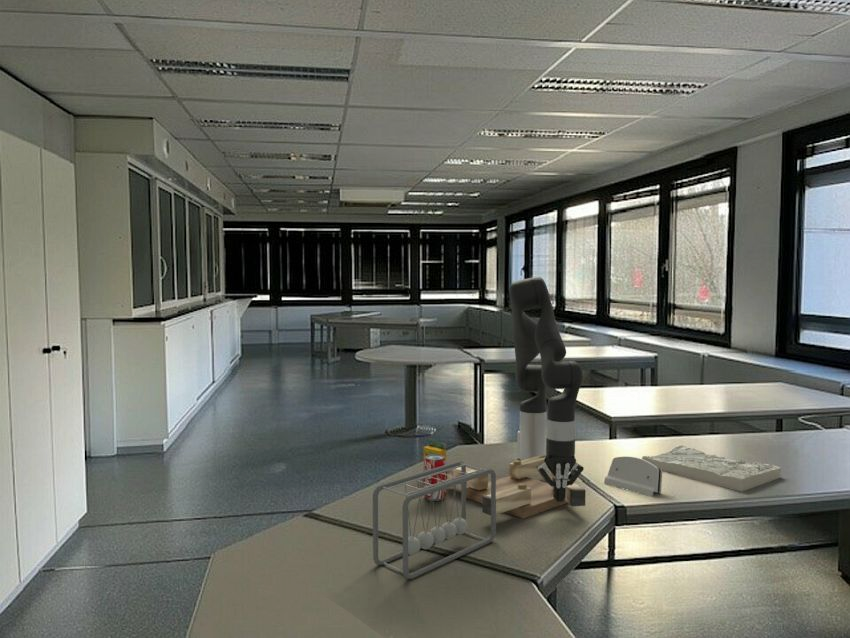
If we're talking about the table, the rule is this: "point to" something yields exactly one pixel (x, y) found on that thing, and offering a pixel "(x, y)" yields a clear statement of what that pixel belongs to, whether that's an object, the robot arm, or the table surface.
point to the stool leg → (574, 495)
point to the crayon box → (435, 449)
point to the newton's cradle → (437, 533)
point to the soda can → (432, 463)
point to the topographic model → (715, 468)
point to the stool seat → (512, 490)
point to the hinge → (635, 475)
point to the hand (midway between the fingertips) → (559, 500)
